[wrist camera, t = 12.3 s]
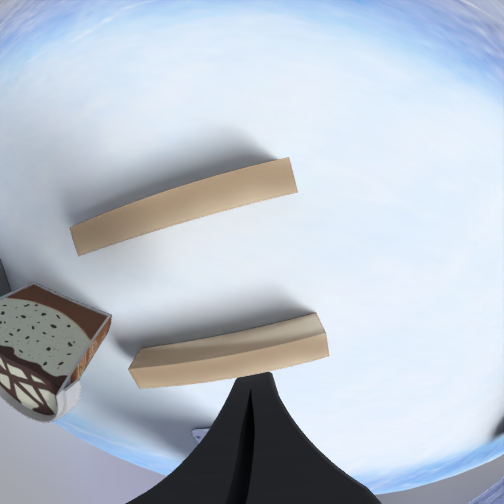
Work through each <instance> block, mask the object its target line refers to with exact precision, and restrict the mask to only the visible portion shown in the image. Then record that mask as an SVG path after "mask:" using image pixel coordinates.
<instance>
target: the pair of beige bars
mask: <svg viewBox="0 0 504 504" xmlns="http://www.w3.org/2000/svg"><path fill="white" fill-rule="evenodd" d="M297 192H298V191H297V187H296V183H295V179H294V175H293V171H292V167H291V163H290V159H289V157H287V158H283V159H278V160H274V161H270V162H266V163H261V164H257V165H253V166H249V167H245V168H242V169H238V170H234V171H230V172H227V173H223V174H219V175H216V176H212V177H209V178H206V179H202V180H199V181H196V182H192V183H189V184H186V185H183V186H179V187H176V188H173V189H170V190H167V191H164V192H161V193H158V194H155V195H152V196H149V197H147V198H144V199H141V200H138V201H135V202H133V203H130V204H127V205H125V206H122V207H119V208H117V209H114V210H111V211H109V212H106V213H104V214H101V215H99V216H96V217H94V218H91V219H89V220H87V221H84V222H82V223H80V224H77V225H75V226H73V227H70V231H71V235H72V238H73V241H74V245H75V248H76V251H77V254H78V256H81V255H83V254H86V253H89V252H92V251H95V250H98V249H101V248H104V247H107V246H110V245H113V244H116V243H119V242H122V241H125V240H128V239H131V238H134V237H137V236H140V235H143V234H147V233H150V232H153V231H156V230H160V229H163V228H166V227H169V226H173V225H176V224H180V223H183V222H186V221H190V220H193V219H197V218H200V217H204V216H207V215H211V214H215V213H218V212H222V211H226V210H229V209H233V208H237V207H241V206H244V205H248V204H252V203H256V202H260V201H264V200H268V199H272V198H276V197H280V196H284V195H288V194H293V193H297ZM328 356H329V350H328V343H327V337H326V332H325V330H324V328H323V326H322V324H321V322H320V319H319V317H318V315H317V313H313V314H309V315H306V316H302V317H298V318H294V319H290V320H286V321H282V322H278V323H274V324H270V325H266V326H261V327H257V328H252V329H248V330H243V331H239V332H234V333H229V334H224V335H219V336H214V337H209V338H203V339H198V340H192V341H186V342H180V343H174V344H168V345H161V346H155V347H148V348H141V349H140V350H139V352H138V354H137V355H136V357H135V358H134V360H133V362H132V363H131V365H130V367H129V368H128V370H129V372H130V374H131V375H132V377H133V379H134V380H135V382H136V384H137V385H138V387H139V389H140V388H156V387H168V386H179V385H188V384H196V383H204V382H211V381H218V380H225V379H231V378H237V377H242V376H248V375H253V374H258V373H263V372H268V371H273V370H277V369H282V368H286V367H290V366H294V365H298V364H302V363H306V362H310V361H314V360H317V359H321V358H324V357H328Z"/></svg>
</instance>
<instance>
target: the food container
mask: <svg viewBox="0 0 504 504" xmlns="http://www.w3.org/2000/svg"><path fill="white" fill-rule="evenodd" d="M111 317H112V315H110V314H107V313H105V312H102V311H99V310H97V309H94V308H92V307H89V306H87V305H84V304H82V303H80V302H77V301H75V300H72V299H70V298H68V297H66V296H63V295H61V294H59V293H57V292H54V291H52V290H50V289H48V288H46V287H44V286H41V285H39V284H37V283H35V282H32V283H30V284H28V285H25V286H23V287H21V288H19V289H17V290H14V291H12V292H10V293H8V294H6V295H4V296H2V297H0V397H1V398H2V399H3V400H5V402H7V403H8V404H9V405H10V406H11V407H13V408H14V409H15V410H17V411H18V412H19V413H21V414H22V415H24V416H26V417H28V418H30V419H32V420H35V421H38V422H42V423H49V422H52V421H54V420H56V419H59V418H61V417H62V416H64V415H65V414H66V413H67V412H68V411H70V410H71V409H72V408H73V407H74V406H75V405H76V404H77V402H78V400H79V398H80V390H81V387H80V377H81V376H82V374H83V372H84V371H85V369H86V367H87V365H88V364H89V362H90V361H91V359H92V357H93V356H94V354H95V352H96V351H97V349H98V348H99V346H100V344H101V343H102V341H103V340H104V338H105V337H106V335H107V333H108V331H109V328H110V325H111Z"/></svg>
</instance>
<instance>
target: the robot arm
mask: <svg viewBox="0 0 504 504" xmlns="http://www.w3.org/2000/svg"><path fill="white" fill-rule="evenodd" d="M192 435H193V437H194V438H195V440H196V441H197V442H198V445H197V447H196V448H195V449H194V450H193V451H192V453H191V454H190V455H189V456H188V457H187V458H186V459H185V460H184V461H183V462H182V463H181V464H180V465H179V466H178V467H177V468H176V469H175V470H174V471H173V472H172V473H171V474H169V475H168V476H167V477H166V478H164V479H163V480H162V481H161V482H159V483H158V484H157V485H155V486H154V487H153V488H151V489H150V490H148V491H147V492H145V493H144V494H142V495H140V496H138V497H137V498H135V499H133V500H131V501H129V502H128V503H126V504H381V502H380V501H379V500H378V499H377V498H376V497H375V495H374V494H373V493H372V492H371V491H370V490H369V489H368V488H367V487H366V486H364V485H363V484H361V483H359V482H358V481H356V480H355V479H353V478H352V477H351V476H349V475H348V474H346V473H345V472H344V471H342V470H341V469H340V468H339V467H337V466H336V465H335V464H334V463H333V462H331V461H330V460H329V459H328V458H327V457H326V456H325V455H324V454H323V453H322V452H321V451H319V450H318V449H317V448H316V446H315V445H314V444H313V443H312V442H311V441H310V440H309V439H308V438H307V437H306V435H305V434H304V433H303V432H302V431H301V429H300V428H299V427H298V425H297V424H296V423H295V421H294V420H293V418H292V417H291V416H290V414H289V413H288V411H287V409H286V408H285V406H284V404H283V402H282V401H281V399H280V397H279V395H278V391H277V388H276V385H275V381H274V378H273V375H272V373H270V372H265V373H260V374H255V375H250V376H244V377H239V378H237V379H236V380H235V383H234V385H233V387H232V389H231V391H230V394H229V396H228V398H227V400H226V402H225V404H224V405H223V407H222V409H221V411H220V413H219V414H218V416H217V418H216V420H215V421H214V423H213V424H212V426H211V427H210V428H208V429H195V430H192ZM468 504H504V477H503V478H501V479H500V480H499V481H498V482H497V483H495V484H494V485H493V486H491V487H490V488H489V489H488V490H486V491H485V492H484V493H482V494H481V495H480V496H478V497H477V498H475V499H474V500H472V501H471V502H469V503H468Z"/></svg>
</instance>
